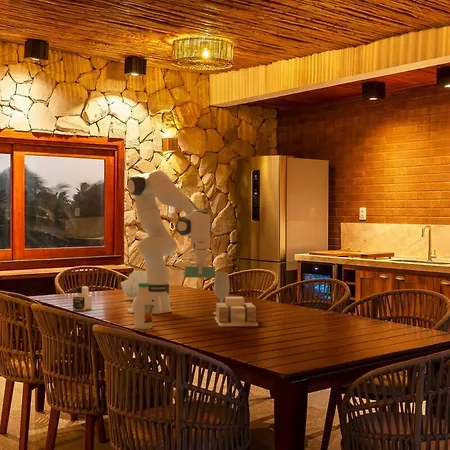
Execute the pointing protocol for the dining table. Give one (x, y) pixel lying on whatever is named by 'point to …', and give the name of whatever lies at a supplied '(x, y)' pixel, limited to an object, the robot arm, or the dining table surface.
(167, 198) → the robot arm
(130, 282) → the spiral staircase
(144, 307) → the milk bottle
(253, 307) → the stacked beige blocks
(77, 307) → the medicine bottle
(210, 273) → the green flat slab
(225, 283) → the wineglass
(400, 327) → the dining table surface
